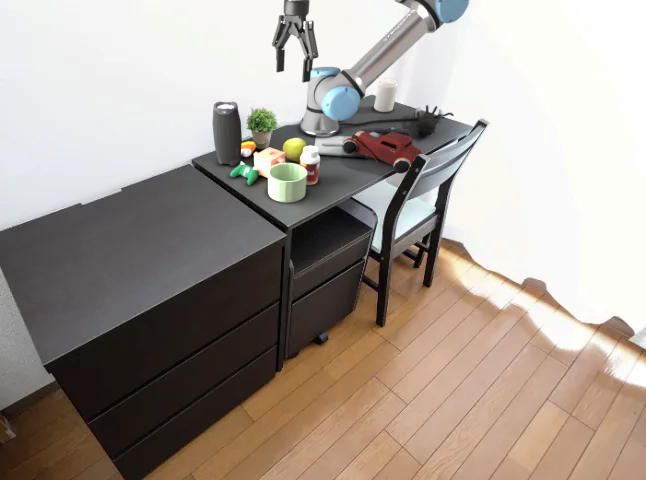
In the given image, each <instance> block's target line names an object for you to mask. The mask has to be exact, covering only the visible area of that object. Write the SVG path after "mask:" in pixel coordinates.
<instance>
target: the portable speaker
mask: <svg viewBox="0 0 646 480" xmlns="http://www.w3.org/2000/svg"><path fill="white" fill-rule="evenodd" d="M211 122H212V123H211V124H212V133H213V143H214V150H215V153H216V158H217V162H218V163H219V164H220V165H224V164H226V165H230V167H231V166H232V167H234V166H238V165H239V164H240V163H241V158H242V154H241V147H242V143H243V136H242V132H243V131H242V121H241V116H240V111H239V107H238V103H237V102H236V101H216V102H215V103H214V104H213V109H212V121H211Z"/></svg>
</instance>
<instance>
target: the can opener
mask: <svg viewBox="0 0 646 480" xmlns="http://www.w3.org/2000/svg"><path fill="white" fill-rule="evenodd" d="M362 130H364V131H369V132H371V133H372V132H375V133H378V134H379V135H384V136H385V135H387V134H388V133H390V132H394V133H399V134H403V135H406V136H409V135H410V131H409V129H406V128H401V127H397V128H395V127H370V128H369V127H367V128H362V129H361V130H360V131H362ZM409 137H410V136H409Z"/></svg>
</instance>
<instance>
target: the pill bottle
mask: <svg viewBox="0 0 646 480" xmlns="http://www.w3.org/2000/svg"><path fill="white" fill-rule="evenodd" d="M320 163H321V157H320V155H319V147H318V146H316V145H307V146H306V147H304V149H303V154H302V155H301V157H300V162H299V165H301V166H302V167H304V168H305V169H306V170H307V183H306V186H311V185H312V186H313V185H316V184H317V183H318V180H319V173H320Z"/></svg>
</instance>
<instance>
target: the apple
mask: <svg viewBox="0 0 646 480" xmlns="http://www.w3.org/2000/svg"><path fill="white" fill-rule="evenodd" d="M306 146H308V144H307V142H306V140H304V139H302V138H301V137H293V138H290V139H287V140H286V141H285V142H284V143H283V146H282V152H285V158H287V159H288V160H289V161H291V162H293V163H300V157H301V155H302V154H303V149H304V147H306Z"/></svg>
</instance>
